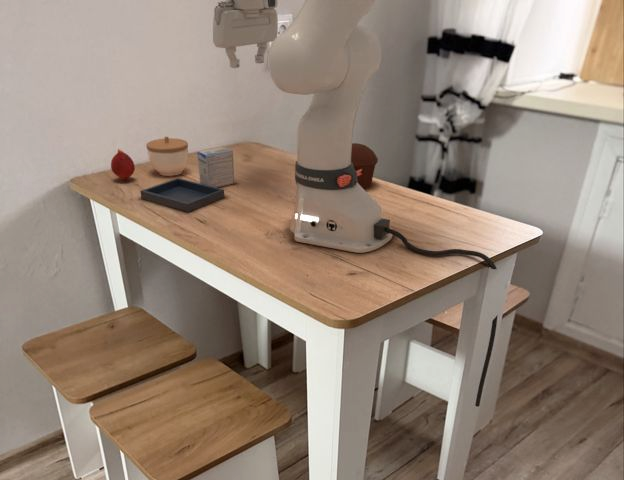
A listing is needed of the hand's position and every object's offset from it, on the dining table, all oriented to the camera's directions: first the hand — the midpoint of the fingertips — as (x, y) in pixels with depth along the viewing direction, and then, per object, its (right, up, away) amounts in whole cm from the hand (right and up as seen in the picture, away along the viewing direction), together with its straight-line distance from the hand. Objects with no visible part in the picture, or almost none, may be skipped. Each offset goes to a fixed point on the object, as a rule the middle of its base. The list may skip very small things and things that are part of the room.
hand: (247, 65), depth 146 cm
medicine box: (-9, -27, +8) cm, 30 cm away
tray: (-16, -33, -1) cm, 36 cm away
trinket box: (-23, -22, +16) cm, 35 cm away
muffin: (+27, -27, +10) cm, 39 cm away
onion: (-33, -25, +10) cm, 43 cm away
